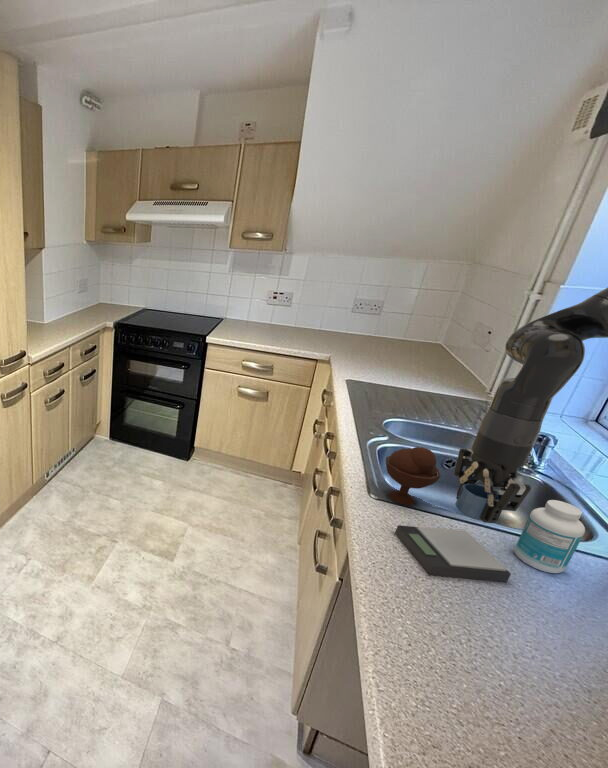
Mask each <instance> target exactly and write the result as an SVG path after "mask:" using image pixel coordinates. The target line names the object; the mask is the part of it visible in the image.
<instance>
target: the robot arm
mask: <svg viewBox="0 0 608 768" xmlns="http://www.w3.org/2000/svg"><path fill="white" fill-rule="evenodd" d="M590 339H608V286H607V287H606V288H604V289H602V290H600V291H599V292H597V293H595V294H593V295H591V296H589V297H588V298H586V299H585V300H583V301H581V302H579V303H577V304H574V305H572V306H568V307H565V308H563V309H560V310H557V311H554V312H551V313H549V314H547V315H544V316H541V317H539V318H537V319H535V320H532V321H530V322H528V323H526V324H524V325H522V326H520V327H519V328H517V329H516V330H515V331H514V332H512V334H511V335H510V336H509V337H508V338H507V340H506V342H505V346H504V349H505V353H506V355H507V356H508V357H509V358H510V359H511V360H513V361H515V362H517V363H519V364H521V365H522V366H521V368H520V370H519V371H518V373H517V374H516V376H515V377H508V378H506V379H503V380H502V381H501V382H500V383H499V385H498V386H497V388H496V390H495V392H494V395H493V398H492V400H491V403H490V405H489V407H488V409H487V411H486V413H485V414H484V416H483V418H482V420H481V423H480V425H479V428H478V431H477V433H476V435H475V438H474V441H473V443H472V445H471V448H460V449H459V450H458V455H457V460H456V464H455V467H454V468H455V469H454V476H455V477H458V478H459V483H460V484H459V487H458V489H457V492H456V496H455V499H456V500H457V498H458V496H459V493H460V491H461V488H462V486H463V485H464V484H466V483H473V484H479V482H482V484H484V486H485V492H486V493H487V497H488V504H486V506H485V508H484V510H483V513H482V515H481V517H480V519H481V520H482V521H481V522H483V523H486V524H487V523H488V524H495V523H497V522H498V520H499V518H500V516H501V514H502V512H503V511H510V512H516V511H517V510H518V508H519V507H520V505H522V503H523V502H524V500H525V499H526V497H527V496H528V495H529V493H530V492H531V490H532V489H531V485H530V484H527V483H526V484H525V483H522V482H521V481H519V480H518V474H517V473H518V470H519V469H520V468H522V467H524V466H525V465H526V464H527V462H528V459H529V457H530V455H531V452H532V451H533V448H534V446H535V444H536V441H537V439H538V438H539V435H540V432H541V430H542V425H543V422H544V419H545V417H546V415H547V412H548V410H549V408H550V405H551V403H552V400H553V399H554V397H555V396H556V395H557V394H558V393H559V392H560V391H561V390H562V389H563V388H564V386H566V385H567V383H568V382H569V381H570V380H571V379H572V378H573V376H574V375H575V374H576V373H577V372H578V371H579V369H580V368H581V366H582V364H583V362H584V359H585V355H586V348H585V344H584V341H586V340H590ZM464 467H465V470H463V469H464ZM495 488H500V489H495ZM497 494H498V495H499V501H497V500H496V495H497Z"/></svg>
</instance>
